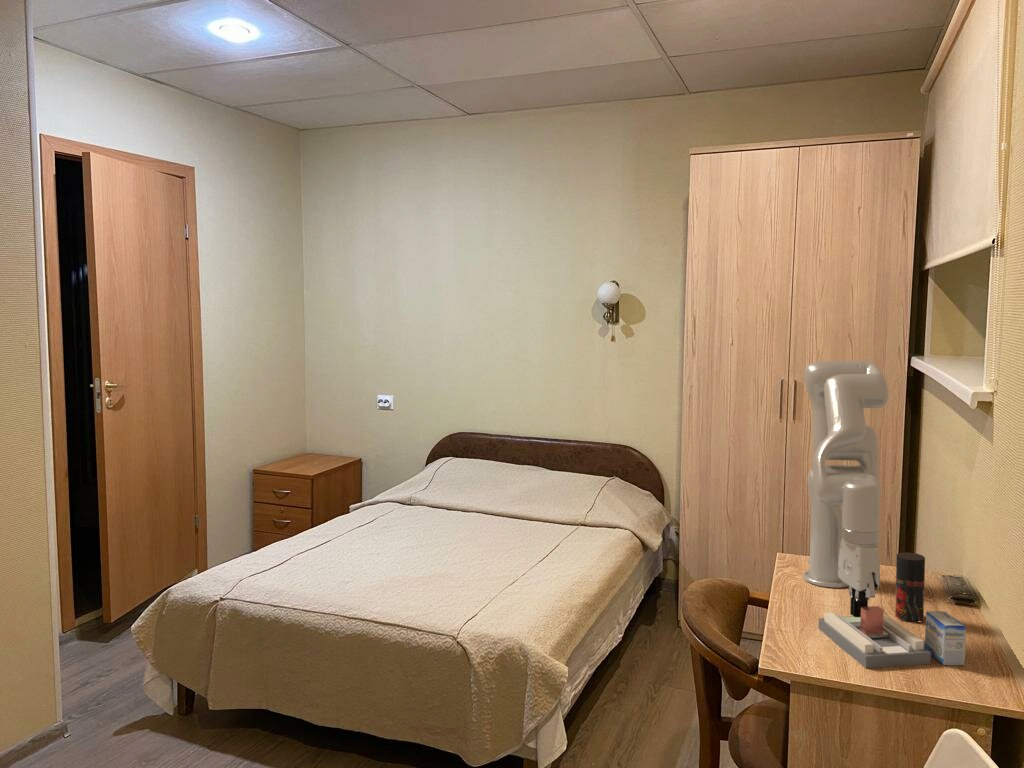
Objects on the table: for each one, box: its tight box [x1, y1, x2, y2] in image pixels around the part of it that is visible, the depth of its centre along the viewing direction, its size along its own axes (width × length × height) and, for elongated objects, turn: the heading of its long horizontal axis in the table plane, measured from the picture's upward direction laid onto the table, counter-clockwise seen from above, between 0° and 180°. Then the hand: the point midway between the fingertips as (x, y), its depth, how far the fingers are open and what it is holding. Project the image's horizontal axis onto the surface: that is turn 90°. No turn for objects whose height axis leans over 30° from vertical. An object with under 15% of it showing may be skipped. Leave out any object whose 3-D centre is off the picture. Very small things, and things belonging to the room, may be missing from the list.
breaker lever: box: [855, 605, 889, 638], centre depth 168 cm, size 5×5×6 cm
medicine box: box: [924, 610, 967, 666], centre depth 162 cm, size 8×4×9 cm, turn 178°
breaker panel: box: [818, 612, 932, 669], centre depth 168 cm, size 20×14×4 cm
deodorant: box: [894, 551, 926, 623], centre depth 182 cm, size 6×6×15 cm
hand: (858, 615), depth 173 cm, fingers closed
